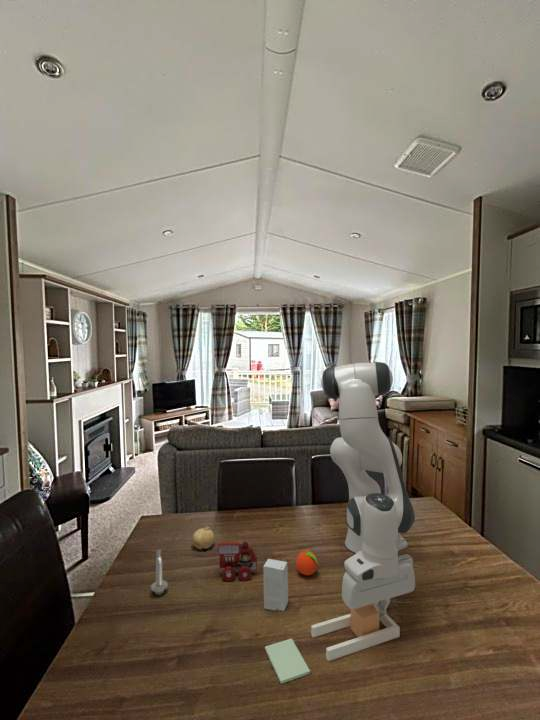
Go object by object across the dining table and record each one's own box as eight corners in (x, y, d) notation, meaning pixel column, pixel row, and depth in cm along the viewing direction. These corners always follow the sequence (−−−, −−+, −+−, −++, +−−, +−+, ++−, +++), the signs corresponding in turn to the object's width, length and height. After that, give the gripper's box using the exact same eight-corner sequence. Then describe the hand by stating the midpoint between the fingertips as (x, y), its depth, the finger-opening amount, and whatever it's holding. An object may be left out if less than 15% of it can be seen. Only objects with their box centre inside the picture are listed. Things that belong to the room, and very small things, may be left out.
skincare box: (288, 603, 105) (288, 561, 105) (284, 613, 101) (283, 570, 101) (268, 598, 107) (267, 557, 107) (263, 608, 103) (262, 566, 103)
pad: (302, 637, 93) (302, 634, 93) (322, 669, 84) (322, 666, 84) (264, 649, 89) (264, 646, 89) (280, 683, 80) (280, 681, 80)
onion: (207, 554, 131) (207, 534, 131) (188, 550, 134) (187, 530, 134) (218, 543, 139) (218, 524, 139) (199, 539, 141) (199, 521, 141)
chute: (378, 616, 100) (378, 605, 100) (399, 639, 92) (399, 627, 92) (311, 637, 93) (311, 625, 93) (328, 664, 85) (328, 651, 85)
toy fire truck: (257, 580, 116) (257, 547, 116) (217, 582, 115) (216, 549, 115) (257, 567, 123) (256, 536, 123) (219, 569, 122) (218, 537, 122)
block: (367, 622, 97) (367, 600, 97) (379, 636, 92) (379, 612, 92) (350, 628, 95) (350, 605, 95) (362, 642, 90) (362, 618, 90)
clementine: (324, 574, 119) (324, 552, 119) (311, 584, 114) (311, 561, 114) (305, 564, 124) (304, 543, 124) (291, 573, 119) (291, 551, 119)
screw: (148, 592, 111) (162, 585, 114) (155, 600, 107) (171, 592, 111) (147, 549, 110) (162, 543, 114) (155, 555, 107) (170, 549, 110)
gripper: (403, 546, 101) (403, 596, 102) (338, 562, 94) (338, 616, 94) (421, 559, 95) (420, 612, 96) (352, 577, 88) (352, 634, 88)
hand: (379, 614), depth 95 cm, fingers closed
